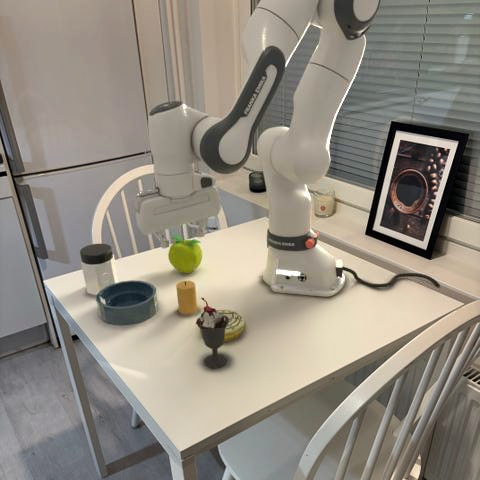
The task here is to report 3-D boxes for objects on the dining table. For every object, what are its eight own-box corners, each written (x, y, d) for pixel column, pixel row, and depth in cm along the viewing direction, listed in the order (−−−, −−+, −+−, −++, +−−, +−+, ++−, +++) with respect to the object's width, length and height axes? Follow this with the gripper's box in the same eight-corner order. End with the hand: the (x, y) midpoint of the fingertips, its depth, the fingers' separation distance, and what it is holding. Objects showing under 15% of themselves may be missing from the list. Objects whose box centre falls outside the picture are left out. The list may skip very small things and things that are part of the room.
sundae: (199, 353, 107) (193, 292, 99) (230, 351, 107) (226, 290, 99) (199, 371, 101) (193, 309, 93) (232, 369, 102) (228, 306, 94)
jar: (92, 300, 129) (83, 258, 123) (83, 288, 135) (74, 248, 129) (124, 290, 133) (117, 250, 127) (113, 280, 139) (106, 240, 133)
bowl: (169, 304, 126) (167, 286, 124) (135, 332, 115) (132, 313, 112) (124, 293, 132) (121, 276, 129) (87, 319, 121) (83, 301, 118)
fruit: (181, 262, 148) (178, 231, 143) (208, 267, 145) (206, 235, 139) (164, 274, 141) (160, 242, 136) (192, 280, 138) (188, 247, 132)
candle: (200, 309, 124) (198, 279, 119) (191, 317, 120) (188, 287, 116) (185, 305, 125) (182, 276, 121) (175, 313, 122) (172, 284, 118)
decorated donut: (248, 321, 118) (248, 307, 116) (240, 346, 109) (239, 332, 107) (206, 318, 120) (205, 304, 118) (194, 342, 111) (193, 328, 109)
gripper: (138, 196, 100) (148, 258, 108) (222, 176, 110) (226, 234, 117) (126, 190, 105) (136, 249, 112) (207, 171, 114) (212, 227, 122)
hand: (183, 241), depth 115 cm, fingers open, 8 cm apart
